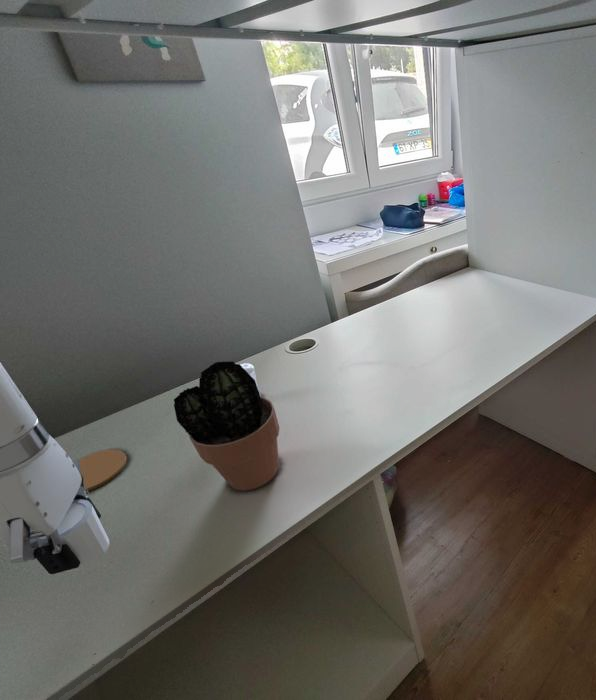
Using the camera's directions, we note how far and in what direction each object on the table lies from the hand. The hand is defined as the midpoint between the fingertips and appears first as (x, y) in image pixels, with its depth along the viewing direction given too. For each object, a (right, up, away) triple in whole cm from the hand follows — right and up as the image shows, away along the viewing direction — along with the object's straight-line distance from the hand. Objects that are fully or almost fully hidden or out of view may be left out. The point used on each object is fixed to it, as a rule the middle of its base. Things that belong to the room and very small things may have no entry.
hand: (77, 543), depth 60 cm
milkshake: (+3, +14, +44) cm, 46 cm away
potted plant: (+13, +3, +24) cm, 27 cm away
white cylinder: (0, -2, +1) cm, 2 cm away
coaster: (-20, +3, +26) cm, 33 cm away
